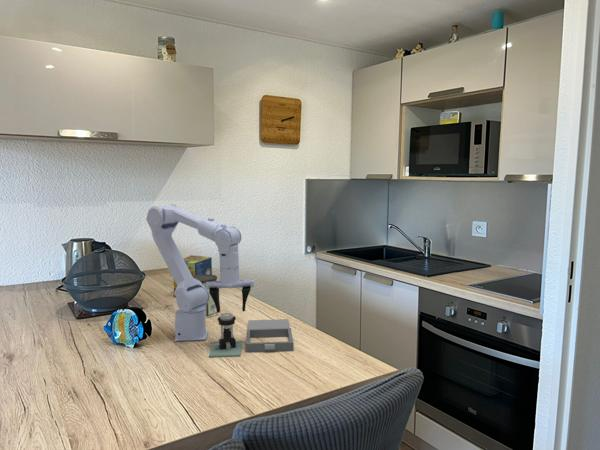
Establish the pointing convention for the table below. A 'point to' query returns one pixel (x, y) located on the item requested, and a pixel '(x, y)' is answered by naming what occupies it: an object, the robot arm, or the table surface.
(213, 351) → the mat
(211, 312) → the coffee can
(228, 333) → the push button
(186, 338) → the robot arm
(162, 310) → the table surface
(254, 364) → the table surface
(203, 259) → the protein box
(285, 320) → the equipment case
